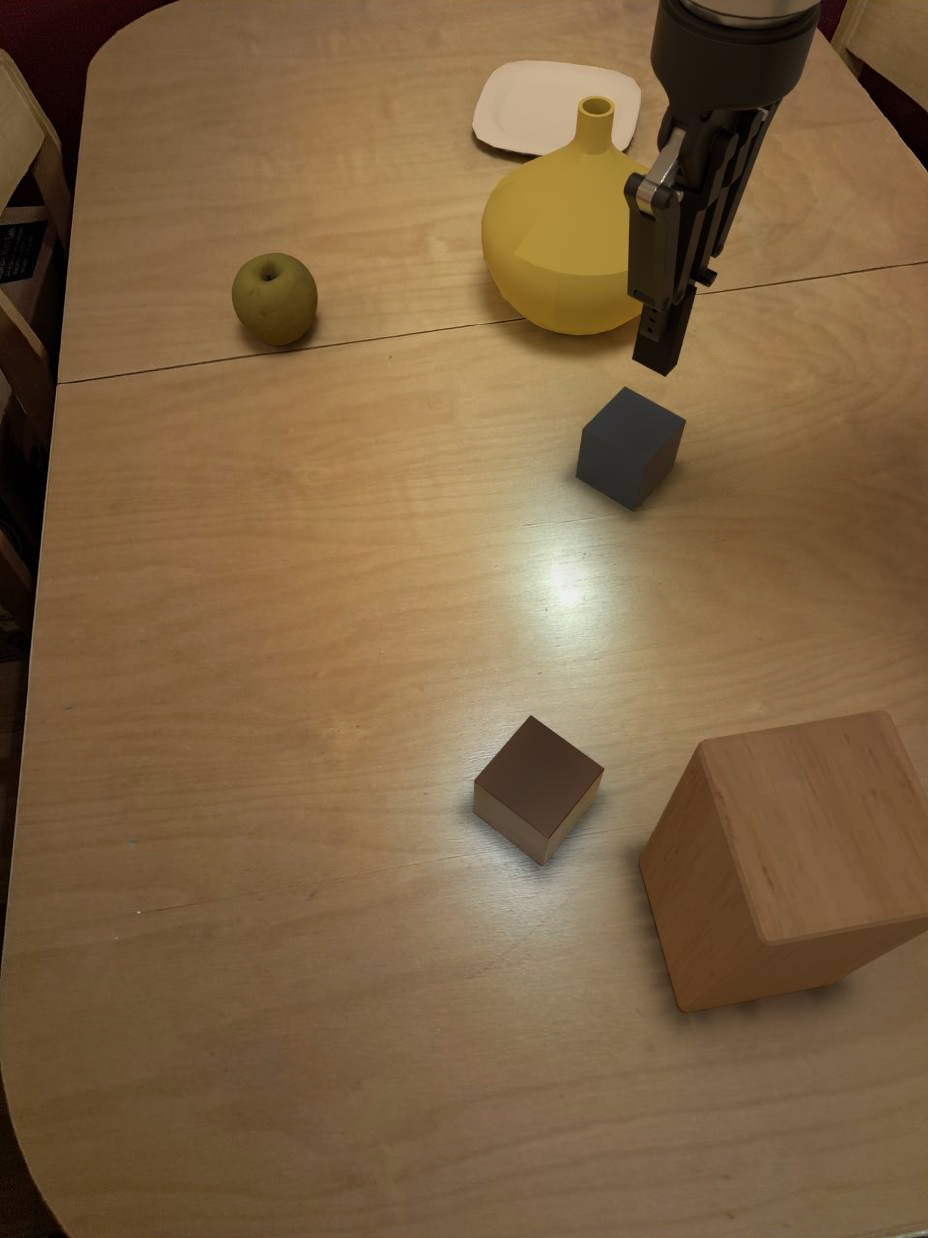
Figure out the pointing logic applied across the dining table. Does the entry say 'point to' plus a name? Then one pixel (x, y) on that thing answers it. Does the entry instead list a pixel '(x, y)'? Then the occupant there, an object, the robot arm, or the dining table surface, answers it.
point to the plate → (549, 105)
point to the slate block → (629, 447)
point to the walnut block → (536, 789)
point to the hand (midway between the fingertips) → (654, 361)
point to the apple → (275, 298)
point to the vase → (566, 231)
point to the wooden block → (788, 859)
